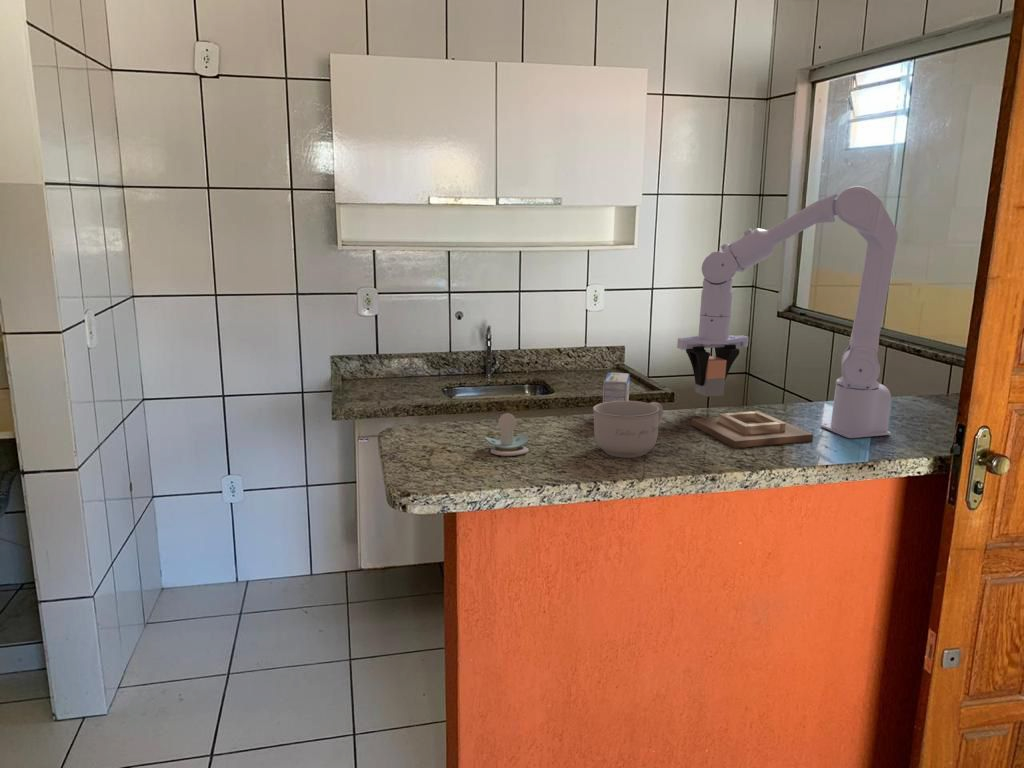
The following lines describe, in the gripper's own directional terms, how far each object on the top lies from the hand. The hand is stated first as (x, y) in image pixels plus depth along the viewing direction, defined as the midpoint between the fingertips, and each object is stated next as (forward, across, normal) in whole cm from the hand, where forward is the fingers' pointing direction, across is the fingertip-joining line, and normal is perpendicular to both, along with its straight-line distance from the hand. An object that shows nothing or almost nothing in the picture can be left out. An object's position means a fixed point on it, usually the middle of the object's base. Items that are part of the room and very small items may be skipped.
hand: (709, 383), depth 149 cm
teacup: (+6, +25, +17) cm, 31 cm away
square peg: (+2, 0, 0) cm, 2 cm away
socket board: (+6, -1, +13) cm, 14 cm away
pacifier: (+6, +45, +12) cm, 47 cm away
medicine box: (+6, +20, 0) cm, 21 cm away
